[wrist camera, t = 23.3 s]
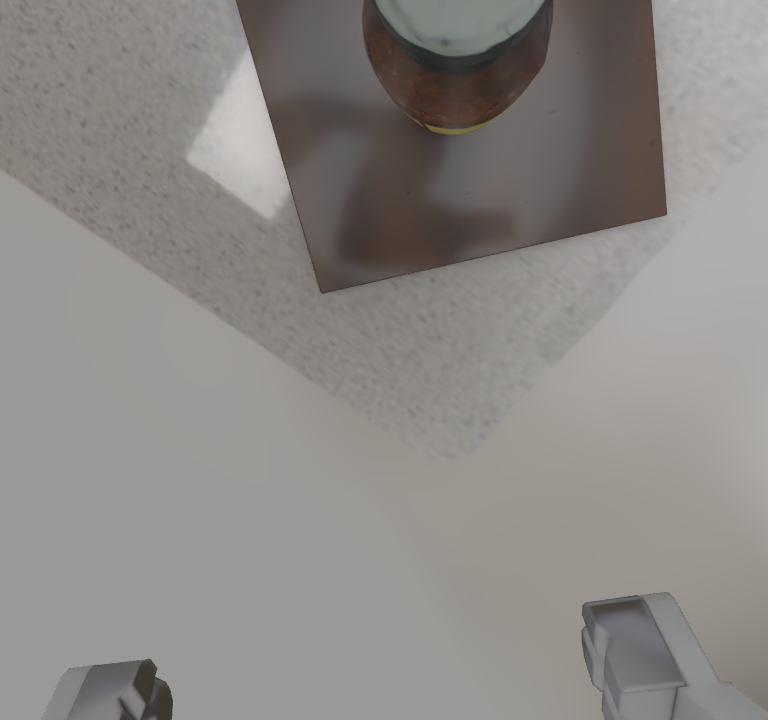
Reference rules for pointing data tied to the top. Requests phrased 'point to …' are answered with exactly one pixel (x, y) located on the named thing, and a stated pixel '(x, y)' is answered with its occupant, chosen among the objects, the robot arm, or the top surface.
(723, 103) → the top surface
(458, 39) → the sauce bottle
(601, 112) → the board
